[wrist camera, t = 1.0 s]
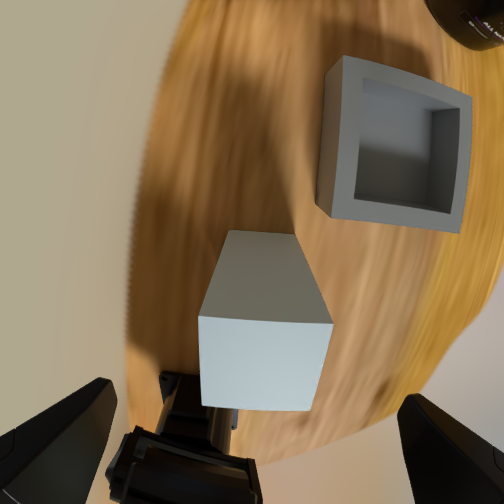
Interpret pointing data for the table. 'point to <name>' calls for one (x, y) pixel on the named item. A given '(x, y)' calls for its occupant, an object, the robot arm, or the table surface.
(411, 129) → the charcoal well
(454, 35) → the supplement bottle
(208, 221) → the table surface
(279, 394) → the blue-grey block
